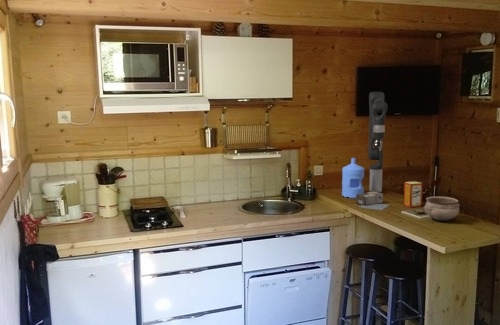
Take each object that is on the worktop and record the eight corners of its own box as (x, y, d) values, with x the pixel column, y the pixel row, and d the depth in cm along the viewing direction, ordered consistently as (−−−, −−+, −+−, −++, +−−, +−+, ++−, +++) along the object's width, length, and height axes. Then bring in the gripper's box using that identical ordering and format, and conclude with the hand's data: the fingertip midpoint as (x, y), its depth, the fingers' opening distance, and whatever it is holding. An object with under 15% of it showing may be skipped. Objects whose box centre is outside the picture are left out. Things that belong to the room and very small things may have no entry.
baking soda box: (414, 204, 316) (415, 180, 314) (421, 206, 310) (422, 182, 308) (403, 205, 313) (404, 182, 310) (410, 207, 307) (411, 183, 304)
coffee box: (373, 200, 327) (355, 203, 320) (373, 191, 326) (355, 193, 319) (382, 203, 319) (364, 206, 312) (383, 193, 318) (365, 196, 311)
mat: (367, 202, 322) (367, 202, 322) (390, 205, 313) (390, 204, 313) (358, 207, 309) (358, 206, 309) (381, 210, 300) (381, 210, 300)
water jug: (337, 196, 343) (338, 158, 339) (350, 193, 353) (350, 156, 349) (355, 199, 332) (356, 160, 327) (368, 196, 342) (368, 158, 338)
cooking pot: (434, 226, 264) (435, 205, 262) (413, 218, 281) (413, 198, 280) (470, 221, 272) (471, 201, 270) (446, 214, 289) (447, 194, 288)
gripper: (377, 130, 333) (376, 154, 336) (370, 132, 322) (369, 156, 325) (387, 130, 329) (386, 155, 332) (381, 132, 318) (380, 157, 321)
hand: (378, 156), depth 328 cm, fingers closed
